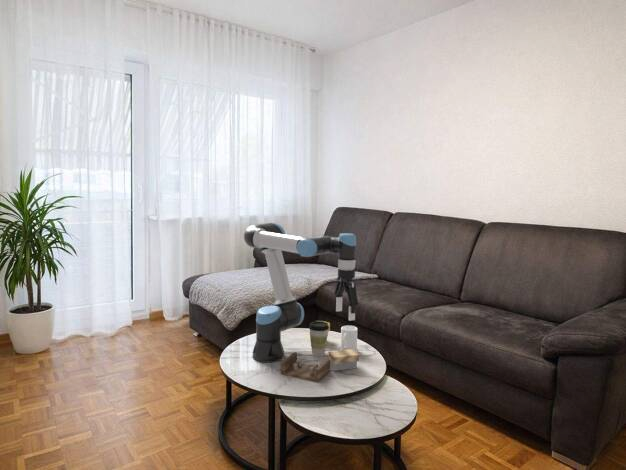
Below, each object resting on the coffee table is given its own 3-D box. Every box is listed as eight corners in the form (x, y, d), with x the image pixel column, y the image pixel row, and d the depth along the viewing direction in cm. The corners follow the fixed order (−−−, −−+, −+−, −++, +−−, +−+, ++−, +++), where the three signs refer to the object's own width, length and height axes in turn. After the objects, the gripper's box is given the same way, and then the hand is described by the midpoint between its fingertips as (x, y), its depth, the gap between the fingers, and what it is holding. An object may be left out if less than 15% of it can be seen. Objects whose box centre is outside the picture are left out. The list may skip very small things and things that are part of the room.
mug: (349, 358, 202) (349, 334, 201) (333, 354, 207) (334, 330, 206) (360, 350, 212) (360, 327, 211) (345, 346, 217) (345, 324, 216)
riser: (332, 371, 188) (332, 362, 188) (329, 368, 191) (329, 359, 190) (356, 367, 192) (357, 359, 192) (353, 365, 195) (354, 356, 194)
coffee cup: (314, 358, 201) (314, 328, 199) (304, 351, 210) (305, 322, 208) (332, 355, 206) (332, 325, 204) (322, 348, 214) (322, 319, 212)
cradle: (281, 373, 185) (281, 361, 184) (294, 363, 195) (294, 352, 195) (318, 382, 177) (319, 369, 176) (330, 371, 188) (330, 359, 187)
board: (334, 364, 186) (334, 357, 185) (328, 358, 192) (328, 351, 192) (359, 361, 190) (359, 354, 189) (352, 355, 196) (352, 348, 196)
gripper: (367, 274, 176) (365, 323, 179) (342, 263, 199) (341, 307, 202) (351, 274, 173) (349, 325, 176) (328, 263, 197) (326, 308, 199)
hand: (345, 315), depth 189 cm, fingers open, 13 cm apart
